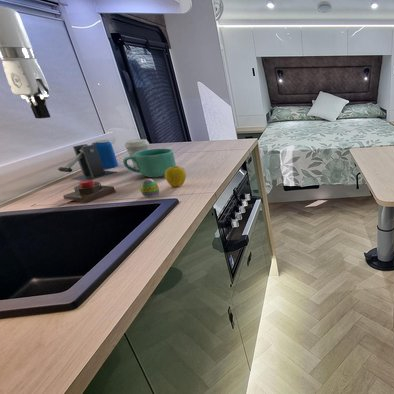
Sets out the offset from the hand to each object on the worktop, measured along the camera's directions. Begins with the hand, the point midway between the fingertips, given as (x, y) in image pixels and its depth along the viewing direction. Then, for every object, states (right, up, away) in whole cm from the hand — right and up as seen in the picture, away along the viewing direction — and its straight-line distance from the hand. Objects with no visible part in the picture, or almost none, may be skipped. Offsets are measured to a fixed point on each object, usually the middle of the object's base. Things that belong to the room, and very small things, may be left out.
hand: (43, 117), depth 94 cm
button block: (+15, -26, 0) cm, 30 cm away
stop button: (+15, -22, -1) cm, 27 cm away
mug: (+22, -18, +21) cm, 35 cm away
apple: (+39, -22, +9) cm, 45 cm away
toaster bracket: (0, -18, +19) cm, 27 cm away
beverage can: (-4, -14, +31) cm, 34 cm away
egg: (+35, -26, 0) cm, 43 cm away
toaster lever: (-1, -12, +14) cm, 18 cm away
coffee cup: (+11, -14, +31) cm, 36 cm away
